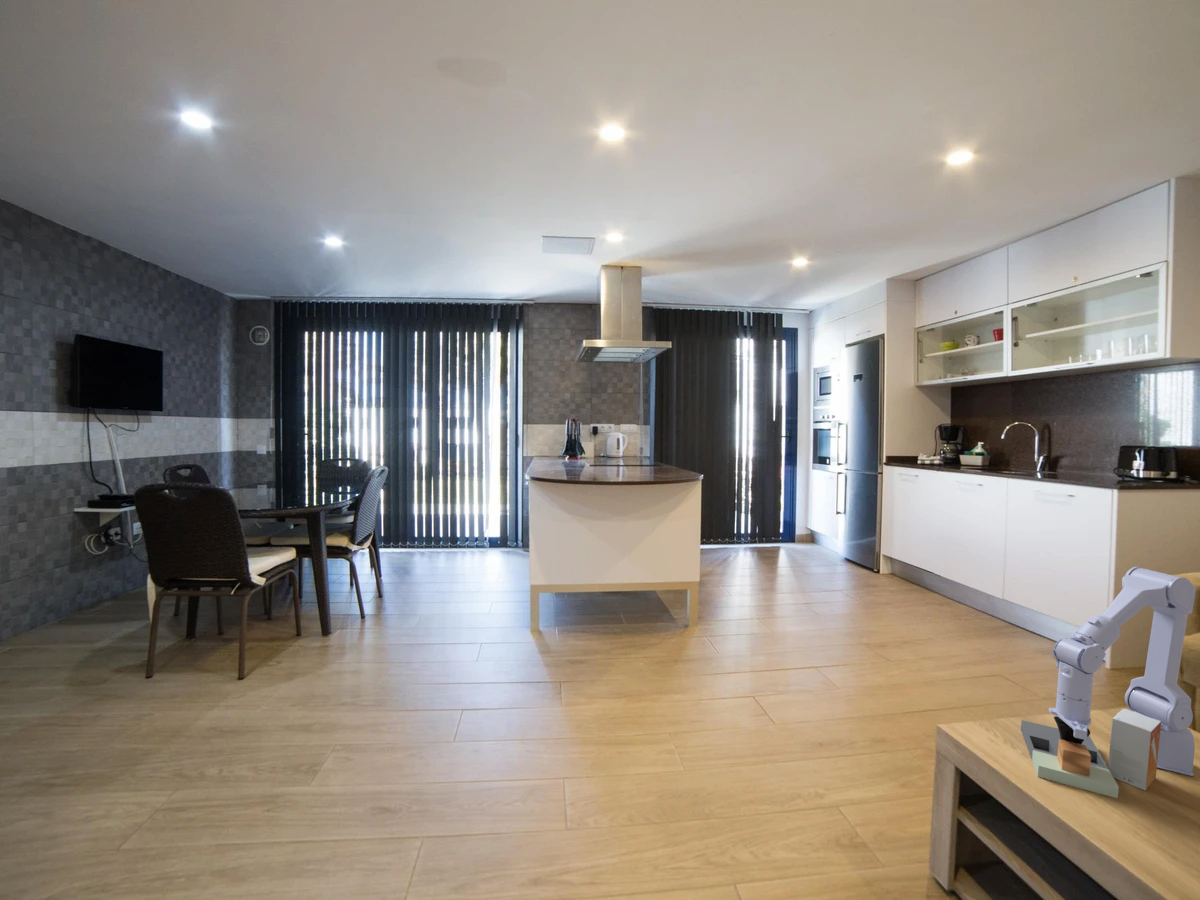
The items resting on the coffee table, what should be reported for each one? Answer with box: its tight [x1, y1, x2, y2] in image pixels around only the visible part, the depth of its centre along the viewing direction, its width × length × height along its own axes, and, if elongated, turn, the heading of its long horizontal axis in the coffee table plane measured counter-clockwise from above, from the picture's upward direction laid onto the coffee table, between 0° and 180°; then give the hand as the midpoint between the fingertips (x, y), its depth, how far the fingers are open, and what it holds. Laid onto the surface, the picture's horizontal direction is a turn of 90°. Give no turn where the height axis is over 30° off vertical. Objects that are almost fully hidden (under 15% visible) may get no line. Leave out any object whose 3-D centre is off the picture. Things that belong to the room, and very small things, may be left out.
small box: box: [1107, 708, 1161, 791], centre depth 119 cm, size 8×6×13 cm
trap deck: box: [1020, 719, 1120, 799], centre depth 124 cm, size 13×21×2 cm, turn 150°
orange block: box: [1057, 739, 1091, 777], centre depth 118 cm, size 4×4×4 cm
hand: (1069, 754), depth 121 cm, fingers closed
